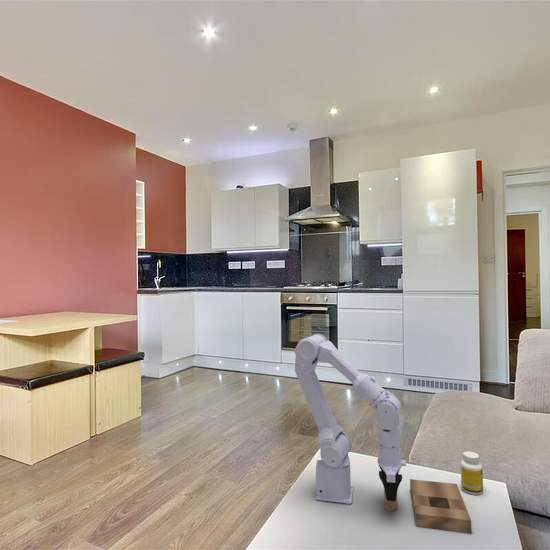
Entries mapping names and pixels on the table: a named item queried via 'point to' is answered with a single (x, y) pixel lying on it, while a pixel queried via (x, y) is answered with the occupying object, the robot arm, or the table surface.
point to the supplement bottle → (471, 474)
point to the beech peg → (391, 504)
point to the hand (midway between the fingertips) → (390, 496)
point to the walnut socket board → (439, 506)
